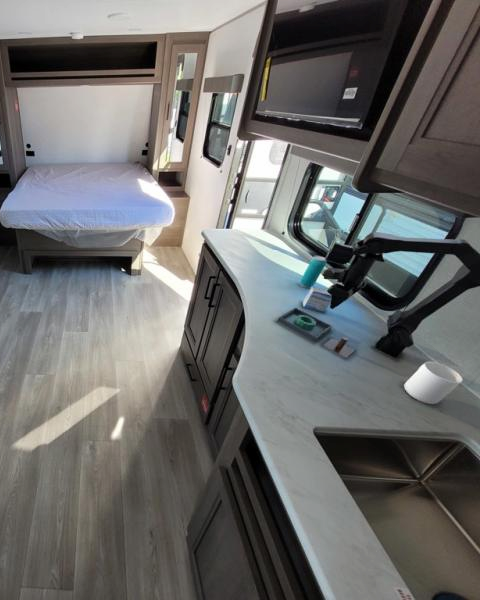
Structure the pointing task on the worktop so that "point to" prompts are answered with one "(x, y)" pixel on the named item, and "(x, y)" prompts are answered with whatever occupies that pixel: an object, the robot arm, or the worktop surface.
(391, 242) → the robot arm
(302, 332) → the tray
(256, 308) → the worktop surface
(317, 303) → the medicine box
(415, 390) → the mug
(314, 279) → the beverage can
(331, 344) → the stand
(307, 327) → the ring
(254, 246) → the worktop surface
